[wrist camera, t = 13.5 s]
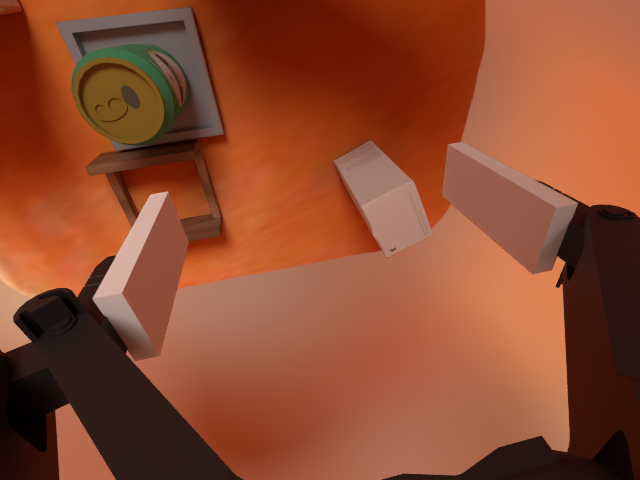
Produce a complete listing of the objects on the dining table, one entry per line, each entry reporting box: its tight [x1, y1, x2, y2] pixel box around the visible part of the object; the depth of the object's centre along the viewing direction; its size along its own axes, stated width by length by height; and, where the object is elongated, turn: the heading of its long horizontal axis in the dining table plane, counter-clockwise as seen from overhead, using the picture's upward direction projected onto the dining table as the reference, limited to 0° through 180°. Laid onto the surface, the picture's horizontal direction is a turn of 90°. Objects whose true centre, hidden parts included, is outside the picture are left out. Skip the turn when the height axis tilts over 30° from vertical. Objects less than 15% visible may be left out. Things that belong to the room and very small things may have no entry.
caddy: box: [85, 139, 223, 241], centre depth 43 cm, size 12×12×5 cm
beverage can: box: [72, 43, 189, 146], centre depth 32 cm, size 8×8×12 cm
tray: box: [56, 7, 224, 151], centre depth 37 cm, size 13×13×2 cm
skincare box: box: [334, 140, 433, 258], centre depth 43 cm, size 8×7×16 cm
